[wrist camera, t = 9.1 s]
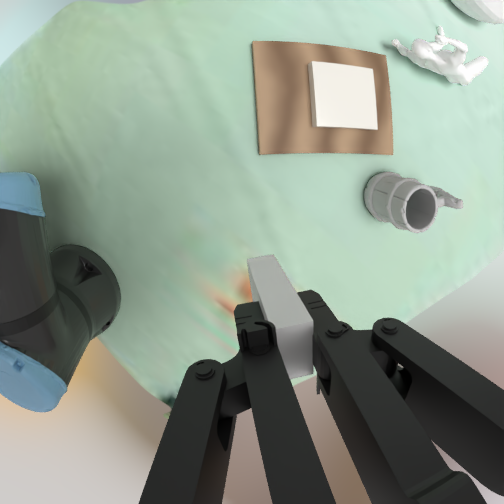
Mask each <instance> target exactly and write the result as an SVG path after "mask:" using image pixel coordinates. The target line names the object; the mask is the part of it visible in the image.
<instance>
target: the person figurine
mask: <svg viewBox="0 0 504 504" xmlns="http://www.w3.org/2000/svg"><path fill="white" fill-rule="evenodd" d="M437 32H438V33H439V35H436V36H435V41H436V42H427V41H426V40H423V39H416V40H414V41H413V43H412V51H411V50H409V49H408V48H406V47H404V46H403V45H402V44H400V42H399V41H398V40H397V39H395V40H392V42H391V44H392V45H393V46H395V47H396V48H397V49H398V51H399V52H400V54H401V55H403V56H406V57H408V58H409V59H410V60H411V61H412V62H413V63H415V64H418V65H419V66H420V67H421V68H425V69H429V70H431V71H433V72H435V73H438V74H441V75H444V76H445V77H446V78H447V79H448V81H449V82H451V83H456V84H458V83H460V84H461V85H462V86H466V85H468V84H469V83H471V82H472V80H473V78H474V77H476V76H478V75H480V74H481V73H482V71H483V70H484V69H485V67H486V66H488V59H487V57H483V56H479V57H477V58H475V59H474V60H472V61H470V62H468V63H466V64H464V65H463V62H464V61H465V59H466V53H467V52H468V47H467V45H466V44H464V43H462V42H460V41H458V40H455V39H451V38H447V37H445V36H444V31H443V28H442V26H438V28H437ZM447 43H449V44H451V45H453V46H455V47H456V48H455V49H454V52H452V51H449V50H441V49H442V48H443V46H444V45H447ZM439 50H440V51H439Z"/></svg>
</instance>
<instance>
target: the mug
mask: <svg viewBox="0 0 504 504" xmlns="http://www.w3.org/2000/svg"><path fill="white" fill-rule="evenodd" d="M367 186H368V187H366V188H365V192H364V200H365V204H366V207H367V209H368V210H369V211H370V213H371V214H372V215H373V216H374V217H375V218H376V219H377V220H379V221H383V222H391V223H392V224H393V225H394V226H395V227H396V228H398V229H403V230H409V231H411V232H414V233H419V232H424V231H426V230H427V229H428V228H430V226H431V225H432V224H433V222H434V221H435V218H434V217H436V215H437V212H438V207H442V206H447V207H451V208H456V209H461V208H463V201H462V200H461V199H457V198H455V197H454V196H452V195H450V194H449V193H448V192H445V191H443V190H442V189H441V188H437V187H432V186H427V185H424V184H421V183H420V182H418V180H416V179H411V178H402V177H401V176H400V175H399V174H397V173H393V172H383V173H380V174H377V175H375V176H373V177H372V178H371V179H370V180H369V182H368V184H367Z"/></svg>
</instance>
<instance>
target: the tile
mask: <svg viewBox="0 0 504 504" xmlns="http://www.w3.org/2000/svg"><path fill="white" fill-rule="evenodd" d="M308 73H309V84H310V97H311V112H312V127H326V128H349V129H364V130H378V126H377V109H376V96H375V85H374V75H373V69H370V68H364V67H358V66H351V65H344V64H336V63H327V62H316V61H312V62H310V63H309V64H308Z"/></svg>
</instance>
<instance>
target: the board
mask: <svg viewBox="0 0 504 504" xmlns="http://www.w3.org/2000/svg"><path fill="white" fill-rule="evenodd" d="M252 54H253V68H254V82H255V97H256V112H257V127H258V144H259V154H260V155H261V154H284V153H363V154H384V155H393V128H392V110H391V97H390V86H389V77H388V68H387V61H386V55H381V54H377V53H372V52H367V51H362V50H356V49H350V48H344V47H337V46H329V45H321V44H311V43H298V42H280V41H253V42H252ZM312 61H316V62H327V63H336V64H344V65H351V66H358V67H364V68H370V69H373V75H374V85H375V96H376V109H377V126H378V130H364V129H349V128H326V127H312V112H311V97H310V84H309V73H308V64H309V63H310V62H312Z"/></svg>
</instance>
